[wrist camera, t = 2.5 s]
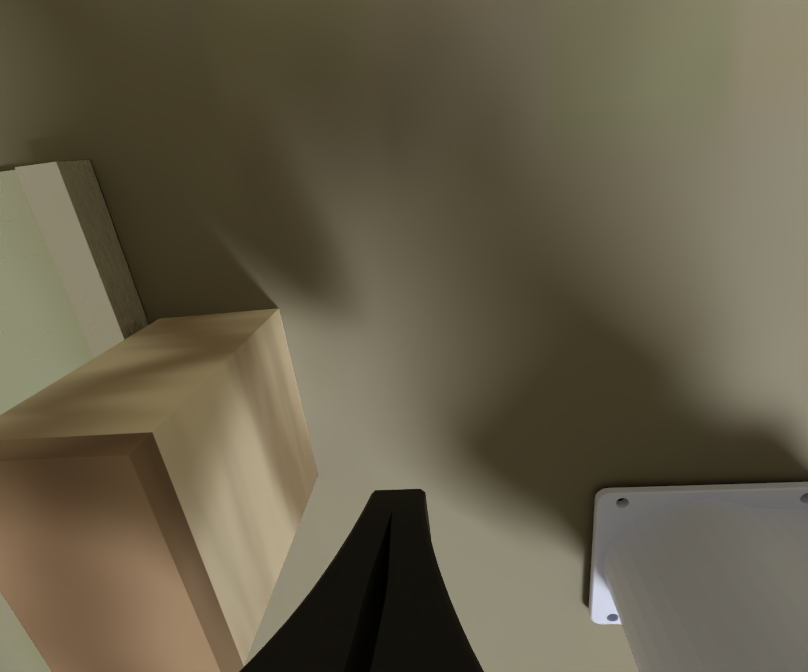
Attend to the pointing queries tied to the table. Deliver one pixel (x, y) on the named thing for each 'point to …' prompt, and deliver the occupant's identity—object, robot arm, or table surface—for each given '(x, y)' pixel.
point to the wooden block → (156, 497)
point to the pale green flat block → (58, 277)
